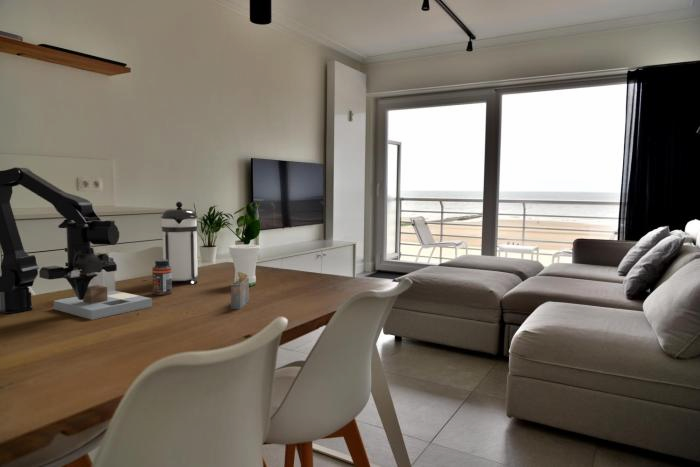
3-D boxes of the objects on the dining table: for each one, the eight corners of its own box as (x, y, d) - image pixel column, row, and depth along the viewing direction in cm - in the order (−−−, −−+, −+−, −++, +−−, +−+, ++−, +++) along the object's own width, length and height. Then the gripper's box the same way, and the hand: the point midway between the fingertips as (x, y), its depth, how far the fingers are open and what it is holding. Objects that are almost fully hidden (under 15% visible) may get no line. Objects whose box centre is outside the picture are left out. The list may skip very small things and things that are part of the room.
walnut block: (91, 303, 138) (91, 289, 138) (83, 301, 141) (82, 287, 141) (107, 300, 142) (107, 286, 142) (99, 298, 145) (98, 285, 144)
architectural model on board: (239, 301, 156) (238, 271, 155) (248, 301, 155) (248, 271, 155) (229, 310, 144) (229, 277, 143) (239, 310, 144) (239, 277, 143)
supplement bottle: (148, 294, 163) (147, 260, 162) (163, 291, 168) (162, 258, 167) (161, 296, 160) (160, 261, 159) (175, 293, 165) (175, 259, 164)
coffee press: (212, 280, 187) (211, 201, 185) (177, 287, 174) (175, 202, 171) (181, 276, 196) (180, 200, 194) (146, 282, 183) (144, 201, 180)
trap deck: (92, 319, 131) (91, 310, 131) (53, 309, 142) (53, 300, 142) (152, 306, 146) (151, 298, 146) (113, 297, 157) (113, 290, 157)
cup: (226, 283, 183) (226, 245, 182) (256, 281, 188) (256, 244, 187) (233, 288, 173) (232, 248, 172) (264, 286, 178) (264, 247, 176)
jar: (81, 298, 156) (79, 260, 155) (91, 292, 164) (89, 257, 163) (111, 297, 157) (109, 260, 156) (119, 292, 165) (118, 256, 164)
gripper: (58, 249, 125) (60, 310, 126) (127, 243, 140) (128, 297, 141) (37, 246, 131) (39, 304, 132) (105, 241, 146) (107, 292, 148)
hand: (80, 299), depth 138 cm, fingers closed
